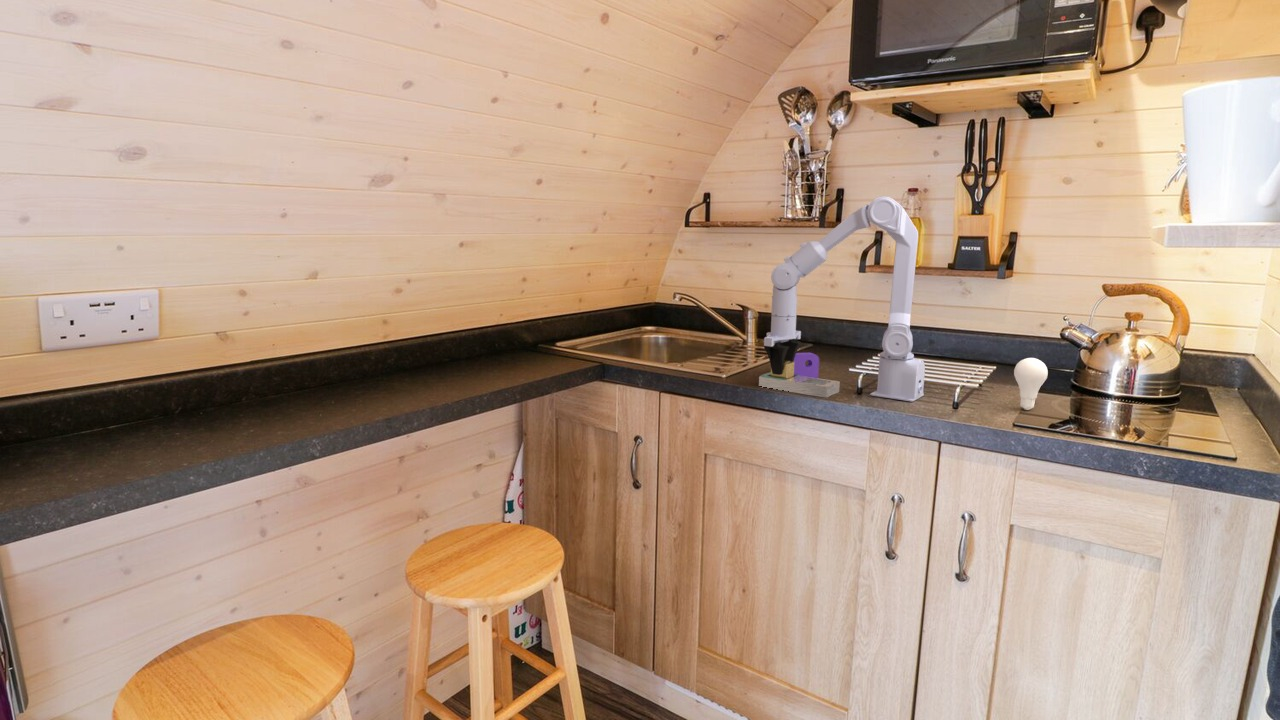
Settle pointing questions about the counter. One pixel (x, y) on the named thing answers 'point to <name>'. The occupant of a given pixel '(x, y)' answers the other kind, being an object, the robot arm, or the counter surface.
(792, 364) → the beige hollow block
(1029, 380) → the lightbulb
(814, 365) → the bracket
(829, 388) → the white compartment tray
